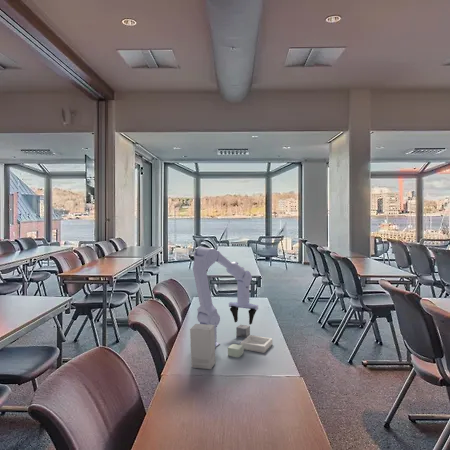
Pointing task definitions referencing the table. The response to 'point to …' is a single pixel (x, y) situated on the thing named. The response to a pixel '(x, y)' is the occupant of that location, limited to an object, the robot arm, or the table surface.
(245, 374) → the table surface
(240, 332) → the metal block
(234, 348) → the pale green box
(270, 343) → the box
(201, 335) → the skincare box
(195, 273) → the robot arm
